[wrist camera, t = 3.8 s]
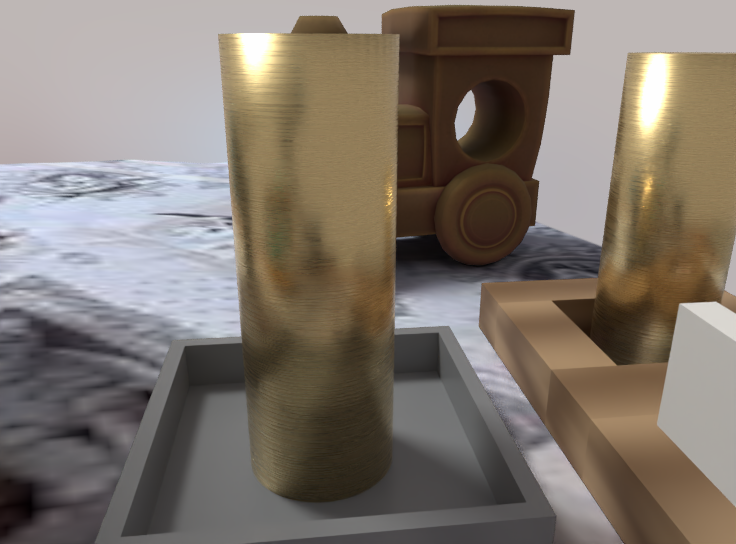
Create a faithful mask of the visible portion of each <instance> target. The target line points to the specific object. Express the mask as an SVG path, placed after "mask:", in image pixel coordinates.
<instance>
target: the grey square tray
mask: <svg viewBox="0 0 736 544" xmlns="http://www.w3.org/2000/svg"><path fill="white" fill-rule="evenodd" d="M555 523H556V514H555V513H554V511H553V509H552V507H551V506H550V504H549V502H548V500H547V499H546V497H545V495H544V493H543V491H542V490H541V488H540V486H539V484H538V483H537V481H536V479H535V477H534V476H533V474H532V472H531V470H530V468H529V467H528V465H527V463H526V461H525V460H524V458H523V456H522V454H521V453H520V451H519V449H518V447H517V445H516V444H515V442H514V440H513V438H512V437H511V435H510V433H509V431H508V430H507V428H506V426H505V424H504V422H503V421H502V419H501V417H500V415H499V414H498V412H497V410H496V408H495V407H494V405H493V403H492V401H491V399H490V398H489V396H488V394H487V392H486V391H485V389H484V387H483V385H482V384H481V382H480V380H479V378H478V377H477V375H476V373H475V371H474V369H473V368H472V366H471V364H470V362H469V361H468V359H467V357H466V355H465V354H464V352H463V350H462V348H461V346H460V345H459V343H458V341H457V339H456V338H455V336H454V334H453V332H452V331H451V329H450V327H449V326H438V327H419V328H400V329H395V331H394V391H393V451H392V463H391V466H390V468H389V470H388V472H387V474H386V475H385V476H384V477H383V478H382V480H380V481H379V482H378V483H377V484H376V485H375V486H373V487H372V488H370V489H369V490H367V491H365V492H363V493H361V494H358V495H356V496H353V497H350V498H347V499H343V500H338V501H333V502H321V503H312V502H301V501H296V500H291V499H288V498H285V497H282V496H280V495H277V494H275V493H273V492H272V491H270V490H268V489H267V488H266V487H264V486H263V485H262V484H261V483H260V482H259V481H258V480H257V478H256V476H255V475H254V473H253V470H252V465H251V455H250V441H249V428H248V415H247V402H246V389H245V376H244V363H243V350H242V337H226V338H206V339H187V340H172V343H171V345H170V348H169V351H168V353H167V356H166V358H165V361H164V364H163V366H162V369H161V371H160V374H159V377H158V379H157V382H156V384H155V387H154V390H153V392H152V395H151V397H150V400H149V403H148V405H147V408H146V410H145V413H144V416H143V418H142V421H141V423H140V426H139V429H138V431H137V434H136V436H135V439H134V442H133V444H132V447H131V449H130V452H129V455H128V457H127V460H126V462H125V465H124V468H123V470H122V473H121V475H120V478H119V481H118V483H117V486H116V488H115V491H114V494H113V496H112V499H111V501H110V504H109V507H108V509H107V512H106V514H105V517H104V520H103V522H102V525H101V527H100V530H99V533H98V535H97V538H96V540H95V543H94V544H553V538H554V530H555Z"/></svg>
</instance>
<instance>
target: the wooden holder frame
mask: <svg viewBox="0 0 736 544" xmlns="http://www.w3.org/2000/svg"><path fill="white" fill-rule="evenodd" d="M597 281H598V278H584V279H562V280H539V281H516V282H494V283H482V287H481V302H480V316H479V327H480V329H481V330H482V332H483V333H484V335H485V336H486V338H487V339H488V341H489V342H490V344H491V345H492V347H493V348H494V350H495V351H496V353H497V354H498V356H499V357H500V359H501V360H502V362H503V363H504V365H505V366H506V368H507V369H508V371H509V372H510V374H511V375H512V377H513V378H514V380H515V381H516V383H517V384H518V385H519V387H520V388H521V390H522V391H523V393H524V394H525V396H526V397H527V399H528V400H529V402H530V403H531V405H532V406H533V408H534V409H535V411H536V412H537V414H538V415H539V417H540V418H541V420H542V421H543V423H544V424H545V426H546V427H547V429H548V430H549V432H550V433H551V435H552V436H553V438H554V439H555V441H556V442H557V444H558V445H559V447H560V448H561V450H562V451H563V453H564V454H565V456H566V457H567V459H568V460H569V462H570V463H571V465H572V466H573V468H574V469H575V471H576V472H577V474H578V475H579V477H580V478H581V480H582V481H583V483H584V484H585V486H586V487H587V489H588V490H589V492H590V493H591V494H592V496H593V497H594V499H595V500H596V502H597V503H598V505H599V506H600V508H601V509H602V511H603V512H604V514H605V515H606V517H607V518H608V520H609V521H610V523H611V524H612V526H613V527H614V529H615V530H616V532H617V533H618V535H619V536H620V538H621V539H622V541H623V542H624V544H736V507H735V506H734V505H733V504H732V503H731V502H730V501H729V500H728V499H727V498H726V496H725V495H724V494H723V493H722V492H721V491H720V490H719V489H718V488H717V487H716V486H715V485H714V484H713V483H712V482H711V481H710V480H709V479H708V478H707V477H706V476H705V475H704V473H703V472H702V471H701V470H700V469H699V468H698V467H697V466H696V465H695V464H694V463H693V462H692V461H691V460H690V459H689V458H688V457H687V456H686V455H685V454H684V453H683V452H682V450H681V449H680V448H679V447H678V446H677V445H676V444H675V443H674V442H673V441H672V440H671V439H670V438H669V437H668V436H667V435H666V434H665V433H664V432H663V431H662V430H661V429H660V428H659V426H658V425H657V421H658V415H659V410H660V405H661V399H662V394H663V389H664V383H665V378H666V373H667V367H668V363H651V364H635V365H618V366H617V365H616V364H615V363H614V362H613V361H612V360H611V359H610V358H609V357H608V356H607V355H606V354H605V353H604V352H603V351H602V350H601V349H600V348H599V347H598V346H597V345H596V344H595V343H594V342H593V341H592V340H591V339H590V334H591V326H592V319H593V311H594V304H595V296H596V289H597ZM721 305H722V306H724V307H726V308H727V309H729V310H731V311H732V312H734V313H735V314H736V297H735V296H733V295H732V294H730V293H728V292H726V291H725V290H724V293H723V298H722V303H721Z"/></svg>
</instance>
